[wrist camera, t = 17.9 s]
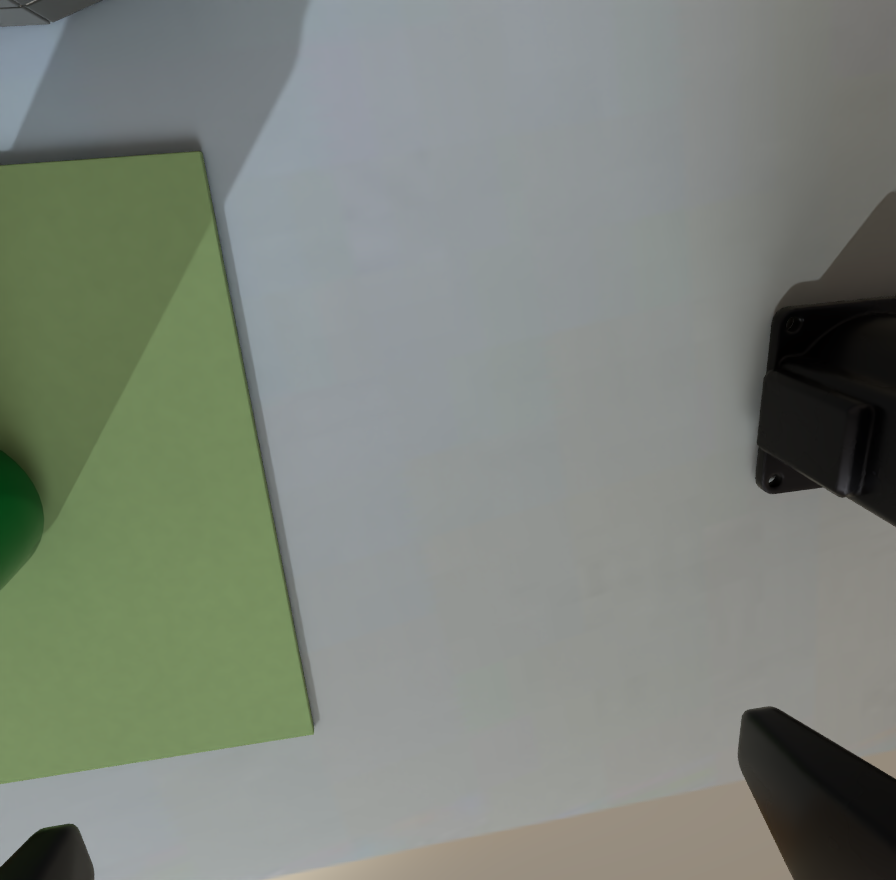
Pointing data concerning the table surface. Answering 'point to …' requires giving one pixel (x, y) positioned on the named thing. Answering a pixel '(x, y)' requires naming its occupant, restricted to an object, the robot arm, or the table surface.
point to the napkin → (133, 479)
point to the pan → (38, 11)
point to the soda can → (17, 518)
